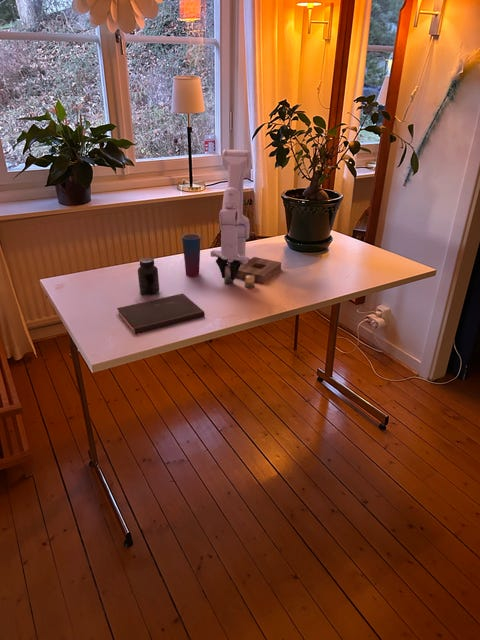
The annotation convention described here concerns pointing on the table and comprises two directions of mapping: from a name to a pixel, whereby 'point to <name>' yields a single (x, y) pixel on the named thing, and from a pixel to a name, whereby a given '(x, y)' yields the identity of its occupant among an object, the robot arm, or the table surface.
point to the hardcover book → (160, 313)
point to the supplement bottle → (148, 277)
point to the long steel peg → (227, 275)
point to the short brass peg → (249, 281)
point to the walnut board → (259, 269)
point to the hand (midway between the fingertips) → (229, 278)
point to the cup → (191, 253)
